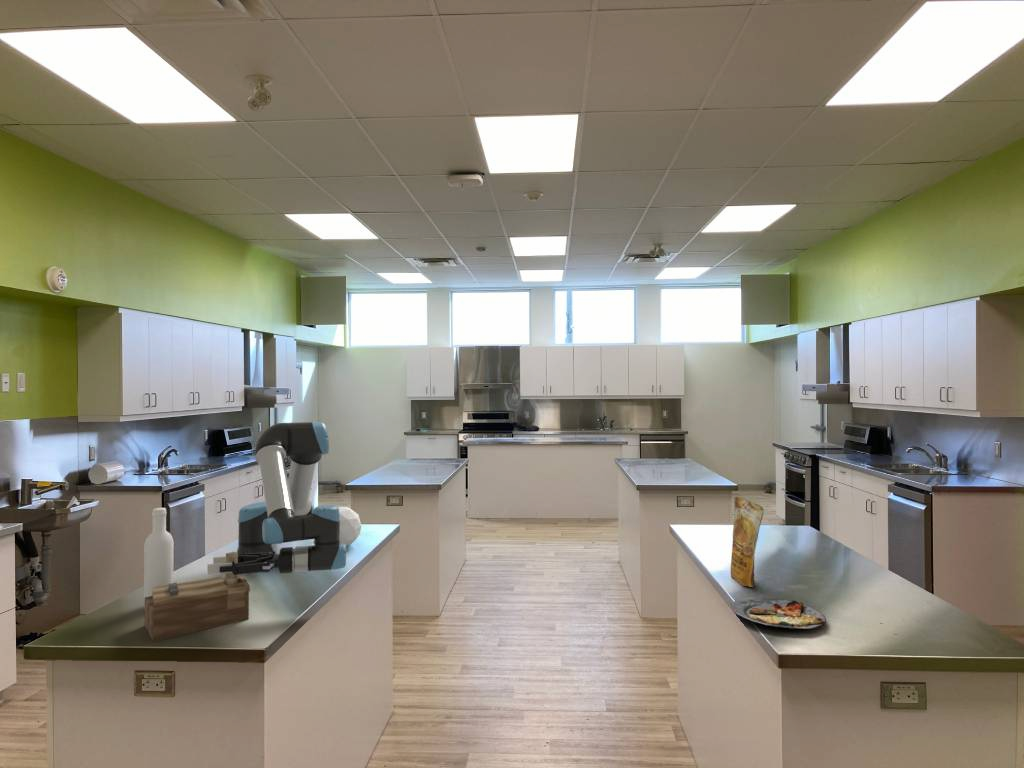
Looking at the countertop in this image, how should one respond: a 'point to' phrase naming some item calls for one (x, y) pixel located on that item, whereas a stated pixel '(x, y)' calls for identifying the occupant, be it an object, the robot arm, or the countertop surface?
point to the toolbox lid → (197, 590)
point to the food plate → (789, 609)
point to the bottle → (158, 554)
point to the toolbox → (194, 615)
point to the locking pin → (229, 576)
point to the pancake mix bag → (745, 540)
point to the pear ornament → (348, 525)
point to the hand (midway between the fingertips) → (210, 565)
